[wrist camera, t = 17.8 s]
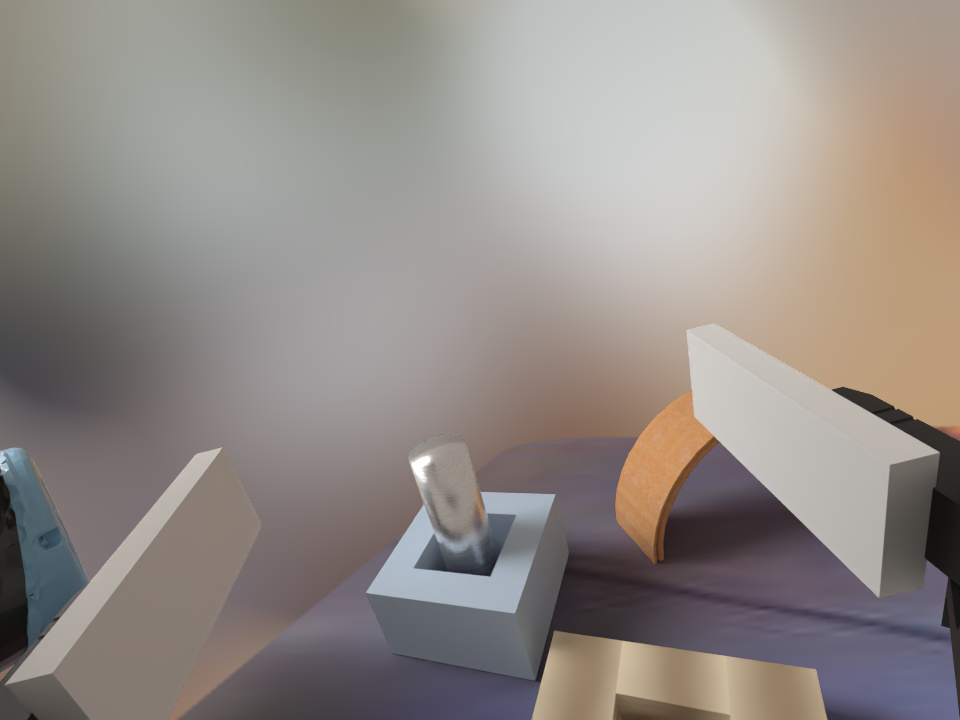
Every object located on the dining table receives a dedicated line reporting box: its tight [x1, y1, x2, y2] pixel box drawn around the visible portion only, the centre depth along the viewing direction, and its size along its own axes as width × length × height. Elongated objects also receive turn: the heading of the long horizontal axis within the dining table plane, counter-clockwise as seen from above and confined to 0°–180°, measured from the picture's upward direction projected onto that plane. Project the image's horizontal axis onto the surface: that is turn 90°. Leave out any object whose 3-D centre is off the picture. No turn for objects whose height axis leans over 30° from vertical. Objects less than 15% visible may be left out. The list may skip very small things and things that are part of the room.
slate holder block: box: [366, 492, 569, 681], centre depth 38 cm, size 11×11×6 cm
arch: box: [615, 390, 720, 564], centre depth 41 cm, size 6×20×10 cm, turn 105°
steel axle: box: [408, 434, 499, 577], centre depth 37 cm, size 4×4×14 cm
